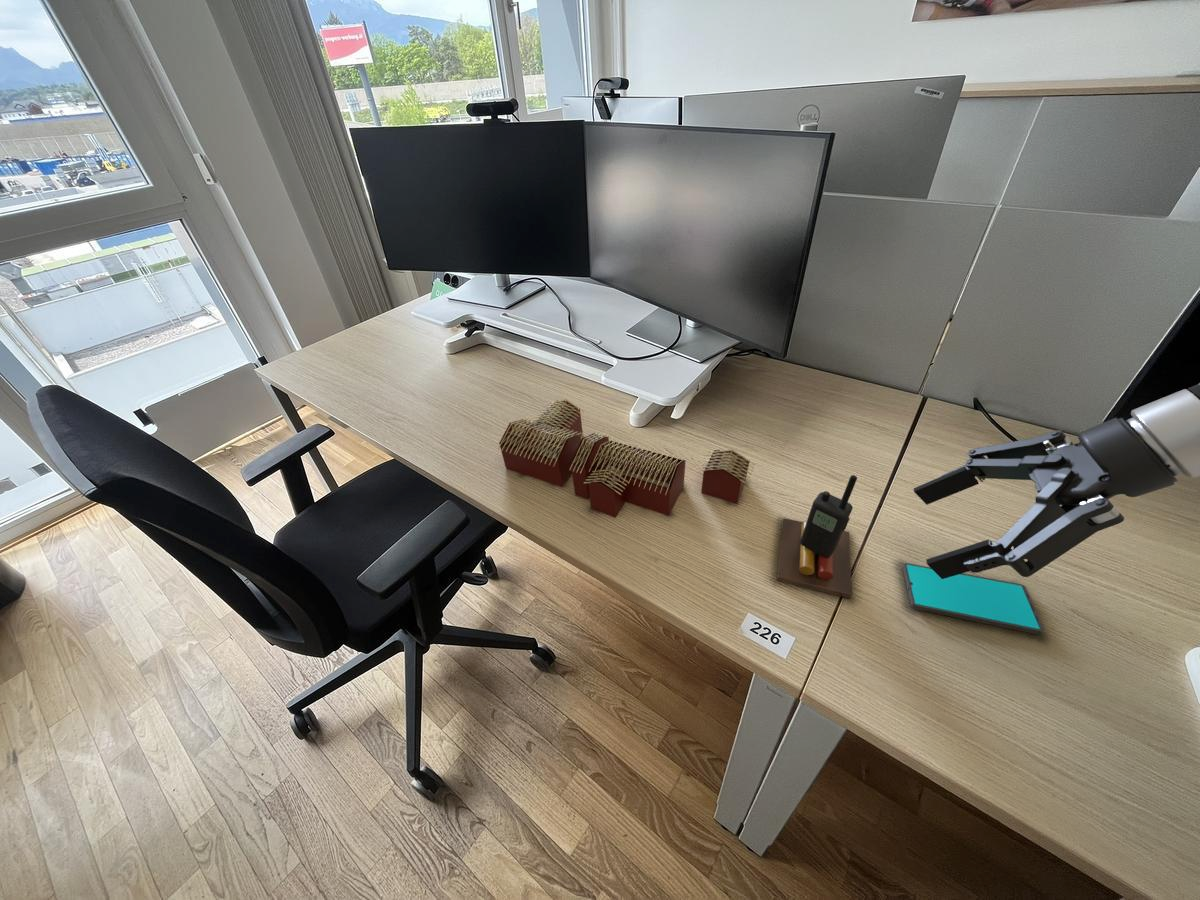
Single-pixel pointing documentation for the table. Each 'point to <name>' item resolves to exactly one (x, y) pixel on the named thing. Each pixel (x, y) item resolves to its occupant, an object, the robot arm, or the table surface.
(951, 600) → the smartphone
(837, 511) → the walkie-talkie
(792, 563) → the rod rack
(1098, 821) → the table surface
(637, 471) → the toy houses
